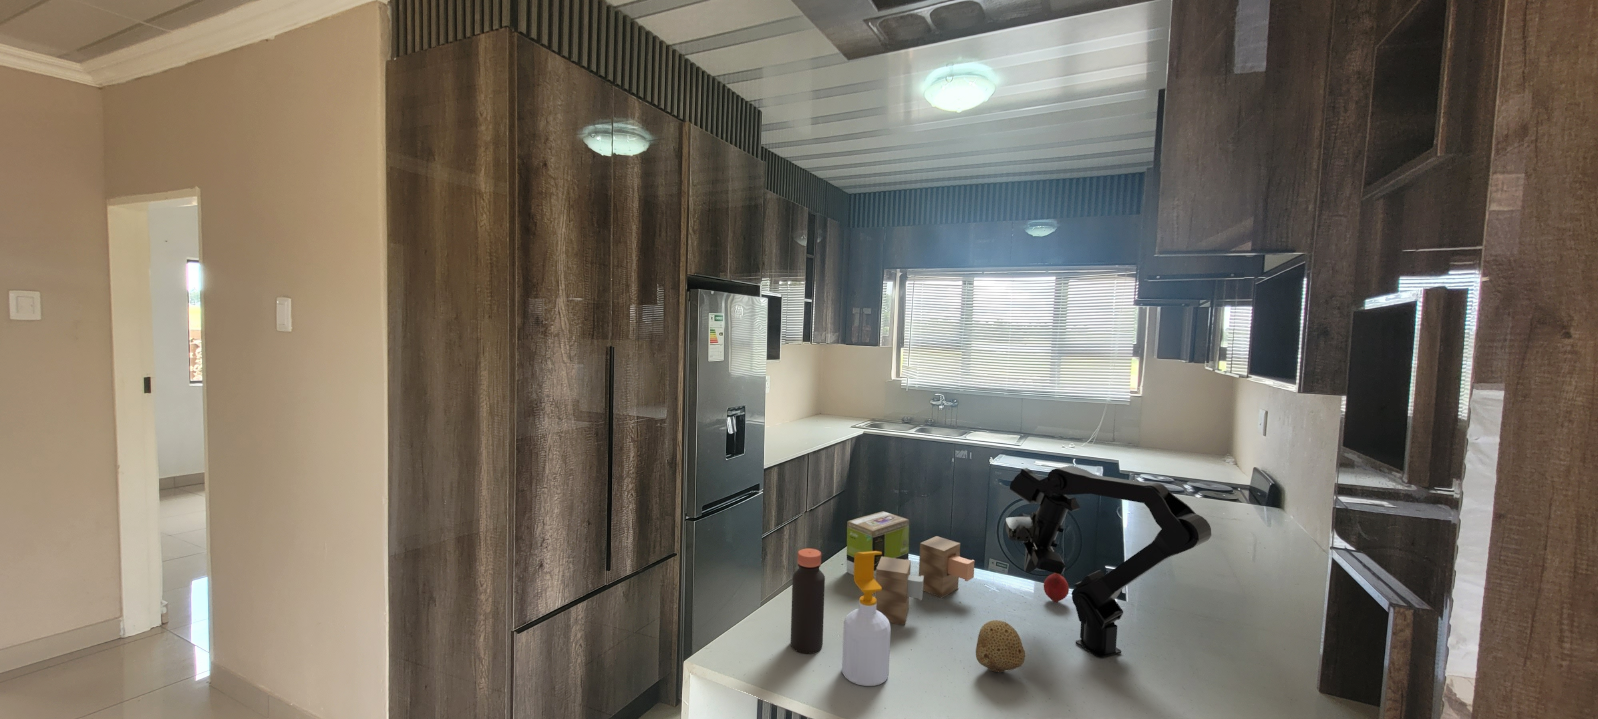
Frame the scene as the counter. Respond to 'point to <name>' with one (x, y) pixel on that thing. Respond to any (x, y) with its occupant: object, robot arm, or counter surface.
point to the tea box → (877, 537)
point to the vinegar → (807, 603)
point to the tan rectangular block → (960, 567)
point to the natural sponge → (999, 647)
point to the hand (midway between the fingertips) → (1026, 571)
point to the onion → (1056, 587)
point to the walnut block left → (893, 589)
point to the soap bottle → (866, 630)
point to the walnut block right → (938, 565)
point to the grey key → (915, 586)
